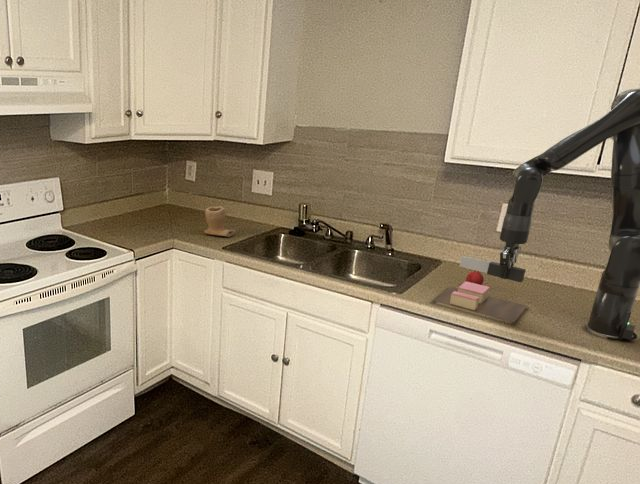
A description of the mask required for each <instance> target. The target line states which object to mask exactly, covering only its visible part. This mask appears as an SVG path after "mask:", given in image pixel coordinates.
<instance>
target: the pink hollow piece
mask: <svg viewBox="0 0 640 484" xmlns="http://www.w3.org/2000/svg"><path fill="white" fill-rule="evenodd" d="M226 215H227V213H226V208H224V207H223V206H221V205H220V206H219V205H218V206H210V207H208V208H206V209H205V211H204V216H205V220H206V223H207V229H205V230H204V234H206V235H211V236H217V237H225V238H231V237H232V236H234V235H235V234H236V233H237V230H235V229H230V228H226V227H225V222H226Z"/></svg>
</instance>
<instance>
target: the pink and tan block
mask: <svg viewBox="0 0 640 484" xmlns="http://www.w3.org/2000/svg"><path fill="white" fill-rule="evenodd" d="M478 301H479V297H476V296H472V295H468V294H464V293H460V292H456V291H454V292H453V293H452V294H451V299H450V304H453V305H457V306H461V307H464V308H468V309H472V310H475V309H476V308H477V306H478Z"/></svg>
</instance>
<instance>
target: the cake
mask: <svg viewBox="0 0 640 484" xmlns="http://www.w3.org/2000/svg"><path fill="white" fill-rule="evenodd" d="M457 288H458V292H460V293H464V294H468V295H472V296H476V297H479V301H478V303H480V304H481V303H482V302H483V301H484V300H485V299H486V298H487V297H488V296H489V293H490V289H491V287H490V286H487V285H483V284H482V285H479V284H475V283H471V282H466V281H464V282H463V283H462V284H461V285H459V286H458V287H457Z"/></svg>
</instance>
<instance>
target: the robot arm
mask: <svg viewBox="0 0 640 484" xmlns="http://www.w3.org/2000/svg"><path fill="white" fill-rule="evenodd" d="M610 138H612V139H613V142H612V143H613V144H612V154H611V169H610V170H611V171H610V194H611V195H610V199H611V209H612V220H611V228H610V234H609V239H608V249H609V252H610V253H609V257H608V260H607V264H606V267H605V269H604V270H603V271H602V273H601V276H600V280H599V283H598V287H597V290H596V293H595V297H594V300H593V304H592V307H591V311H590V314H589V318H588V321H587V325H586V328H587V329H588V330H589V331H591V332H594V333H596V334H600V335H603V336H606V339H612V340H620V341H624V339H626V340H628V341H633V340H636V339H637V338H638V334H637V333H636V332H635V330H636V329H635V328H636V325H633V324H630V319H631V315H632V311H633V309H634V305H635V301H636V298H637V294H638V291H639V288H640V88H631V89H626V90H624V91H622V92H620V93H619V94H617V95H616V96H615V98H613V100H612V102H611V105H610V110H609V111H608V112H606V114H604V115H603V116H602V117H599V119H597V120H595V121H593V122H592V123H590V124H589V125H587V126H585V127H583V128H580V129H579V130H577V131H575V132H573V133H571V134H569V135H567V136H566V137H564V138H562V139H561V140H559V141H558V142H557V143H555V144H553V145H552V146H551V147H549V148H547V149H546V150H545V151H544V152H542V153H540V154H538V155H536V156H534V157H533V158H532V157H531V159H528V160H527V161H525V162H523V163H522V164H520V165H519V166H518V167H516V168H515V169H514V170H513V172H512V174H511V180H512V182H513V183H514V188H513V193H512V195H511V196H510V197H509V198H508V203H507V206H506V211H505V215H504V217H503V221H502V226H501V230H500V235H499V239H500V241H501V242H504V243H505V245H504V246H502V250H501V252H500V253H499V263H500V267H502V268H501V273H500V277H499V279H503V280H508V279H507V278H508V275H509V270H510V268H511V266H513V267H515V264H516V263H517V260H518V258H519V255H520V251H521V249H522V247H521V246H520V245H524V244H527V243H528V240H529V235H530V231H531V226H532V221H533V215H534V209H535V203H536V200H537V198H538V196H539V193H540V191H541V188H542V185H543V181H544V177H545V176H547V175H548V174H550V173H551V172H555V171H556V172H557V171H559V170H561V169H563V168H564V167H566V166H568V165H570V164H571V163H572V162H574V161H575V160H577V159H579V158H580V157H581V156H583V155H585V154H587V153H588V152H589V151H591V150H592V149H593V148H595V147H597V146H598V145H600V144H602V143H603V142H605V141H607V140H609V139H610Z"/></svg>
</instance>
